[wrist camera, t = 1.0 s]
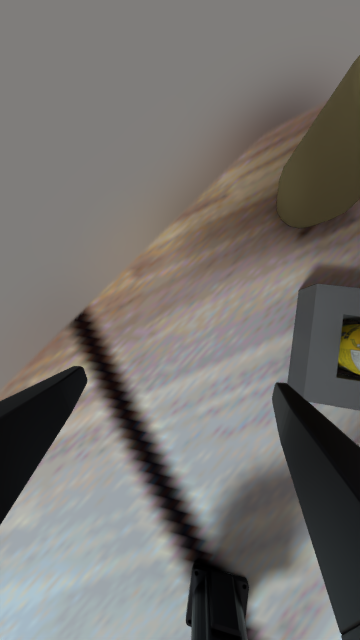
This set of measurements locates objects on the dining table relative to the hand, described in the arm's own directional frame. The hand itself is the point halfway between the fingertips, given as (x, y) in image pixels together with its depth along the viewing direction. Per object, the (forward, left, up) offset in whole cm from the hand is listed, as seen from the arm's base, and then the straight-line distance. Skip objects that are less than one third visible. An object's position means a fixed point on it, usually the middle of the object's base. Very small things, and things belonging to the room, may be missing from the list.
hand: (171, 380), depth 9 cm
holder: (+3, -18, -15) cm, 24 cm away
